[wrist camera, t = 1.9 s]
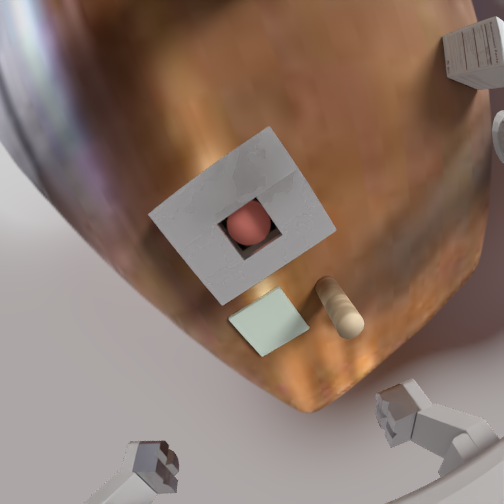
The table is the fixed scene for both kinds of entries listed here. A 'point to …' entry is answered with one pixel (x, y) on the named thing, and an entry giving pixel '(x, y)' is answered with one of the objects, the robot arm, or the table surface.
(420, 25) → the table surface
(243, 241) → the button
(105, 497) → the robot arm
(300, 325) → the coaster
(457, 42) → the supplement box
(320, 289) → the dowel
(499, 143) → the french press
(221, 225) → the box
